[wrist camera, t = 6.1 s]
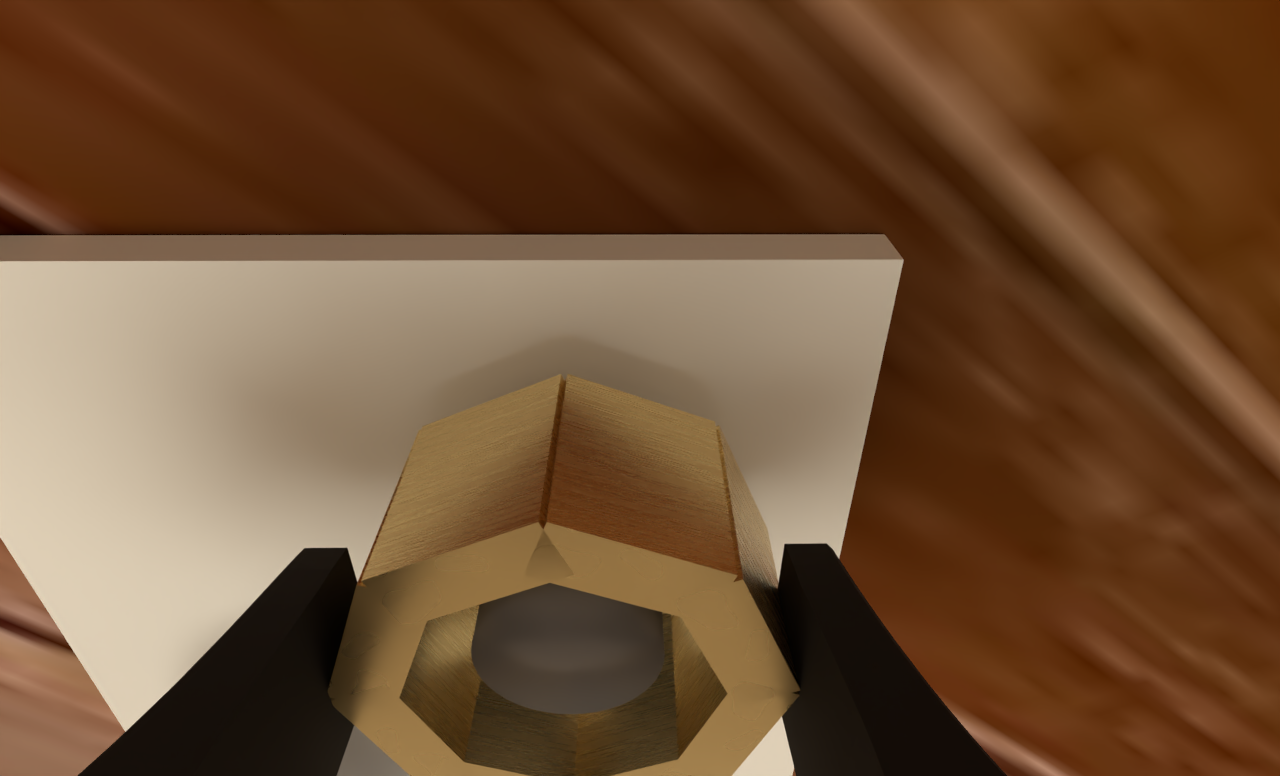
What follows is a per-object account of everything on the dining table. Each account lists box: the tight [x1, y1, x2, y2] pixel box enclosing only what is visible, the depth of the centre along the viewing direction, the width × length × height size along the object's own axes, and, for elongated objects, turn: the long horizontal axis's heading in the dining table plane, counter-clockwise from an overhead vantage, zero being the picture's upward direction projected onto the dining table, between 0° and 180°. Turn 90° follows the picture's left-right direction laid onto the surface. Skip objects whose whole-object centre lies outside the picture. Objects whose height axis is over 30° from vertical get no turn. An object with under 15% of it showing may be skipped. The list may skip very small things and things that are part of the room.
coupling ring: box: [328, 374, 800, 776], centre depth 11 cm, size 6×6×3 cm
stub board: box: [0, 234, 904, 776], centre depth 14 cm, size 16×15×5 cm
